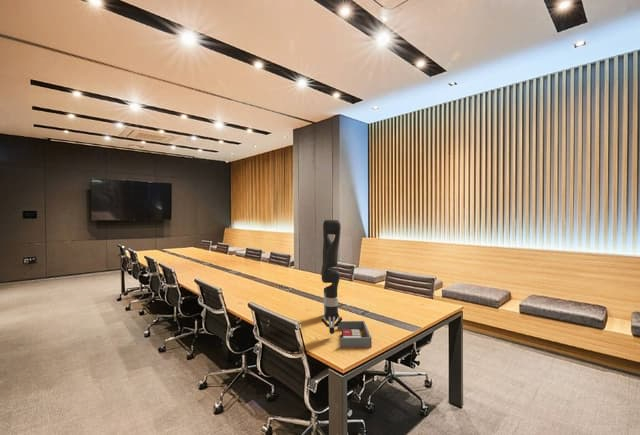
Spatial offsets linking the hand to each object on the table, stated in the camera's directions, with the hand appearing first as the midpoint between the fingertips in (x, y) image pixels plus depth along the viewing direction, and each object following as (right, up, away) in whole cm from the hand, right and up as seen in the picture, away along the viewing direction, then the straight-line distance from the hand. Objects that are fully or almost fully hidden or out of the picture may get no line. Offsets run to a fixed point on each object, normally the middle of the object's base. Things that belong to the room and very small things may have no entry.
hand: (331, 333), depth 176 cm
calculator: (+11, -3, -3) cm, 12 cm away
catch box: (+13, -2, 0) cm, 13 cm away
